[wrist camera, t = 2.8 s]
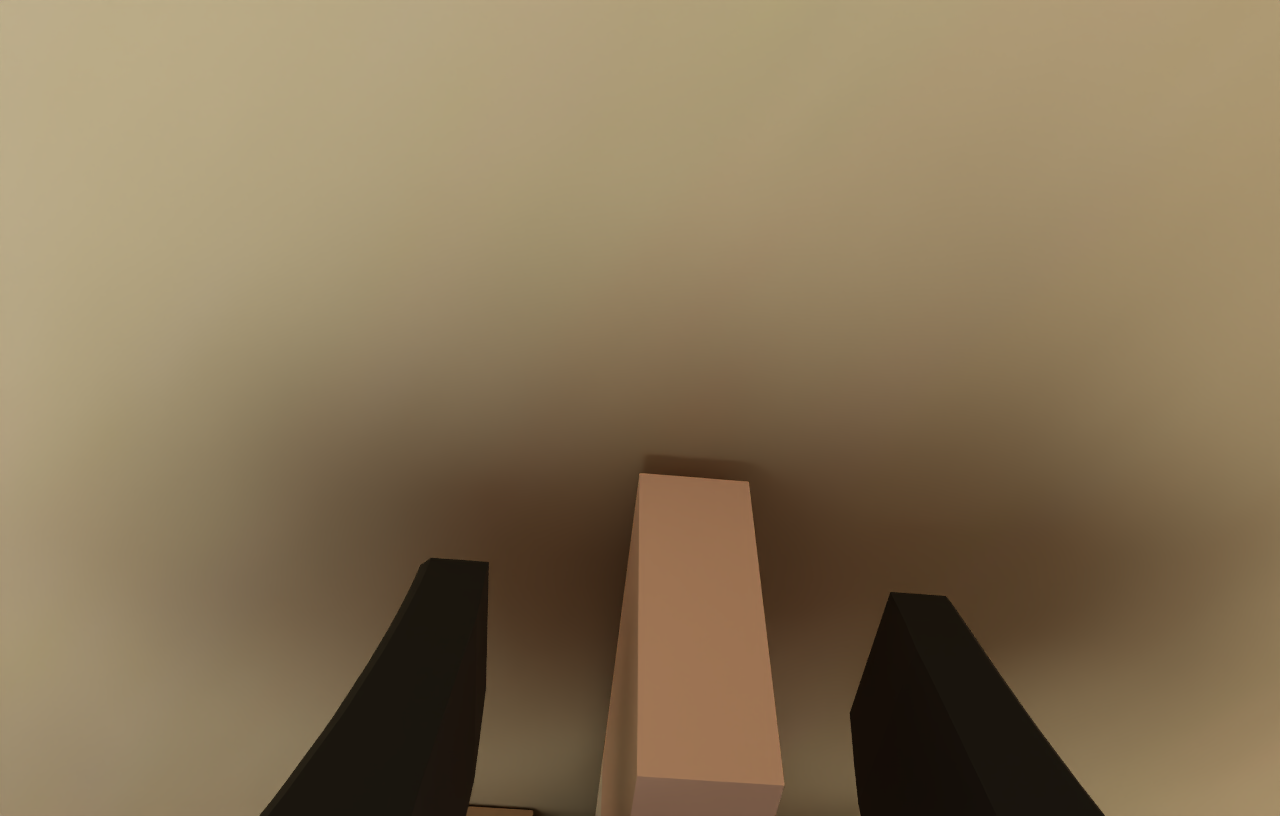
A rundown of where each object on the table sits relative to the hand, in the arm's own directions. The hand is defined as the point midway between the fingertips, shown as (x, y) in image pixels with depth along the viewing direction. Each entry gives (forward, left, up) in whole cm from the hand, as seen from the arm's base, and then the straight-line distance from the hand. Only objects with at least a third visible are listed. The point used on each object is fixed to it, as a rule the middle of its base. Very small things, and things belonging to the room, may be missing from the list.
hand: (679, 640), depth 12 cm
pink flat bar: (-5, 0, -1) cm, 5 cm away
